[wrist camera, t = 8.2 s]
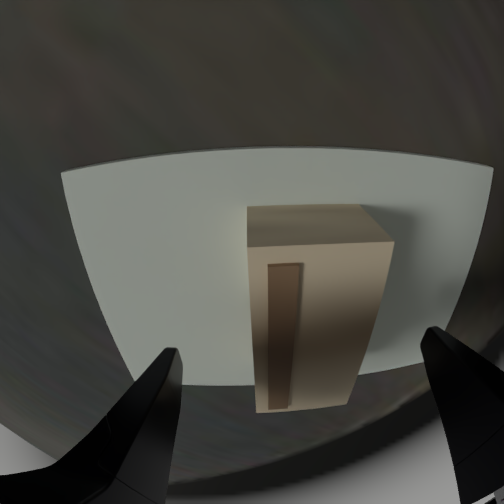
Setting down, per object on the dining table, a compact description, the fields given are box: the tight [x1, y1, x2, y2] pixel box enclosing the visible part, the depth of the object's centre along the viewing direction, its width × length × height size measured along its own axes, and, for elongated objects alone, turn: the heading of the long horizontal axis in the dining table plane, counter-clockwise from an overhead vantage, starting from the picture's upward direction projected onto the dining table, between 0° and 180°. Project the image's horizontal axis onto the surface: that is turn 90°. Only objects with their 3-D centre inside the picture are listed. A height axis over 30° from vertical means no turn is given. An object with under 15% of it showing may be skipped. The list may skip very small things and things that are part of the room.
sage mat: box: [61, 146, 494, 385], centre depth 12 cm, size 18×12×1 cm, turn 92°
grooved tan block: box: [247, 204, 395, 413], centre depth 10 cm, size 8×4×3 cm, turn 2°
